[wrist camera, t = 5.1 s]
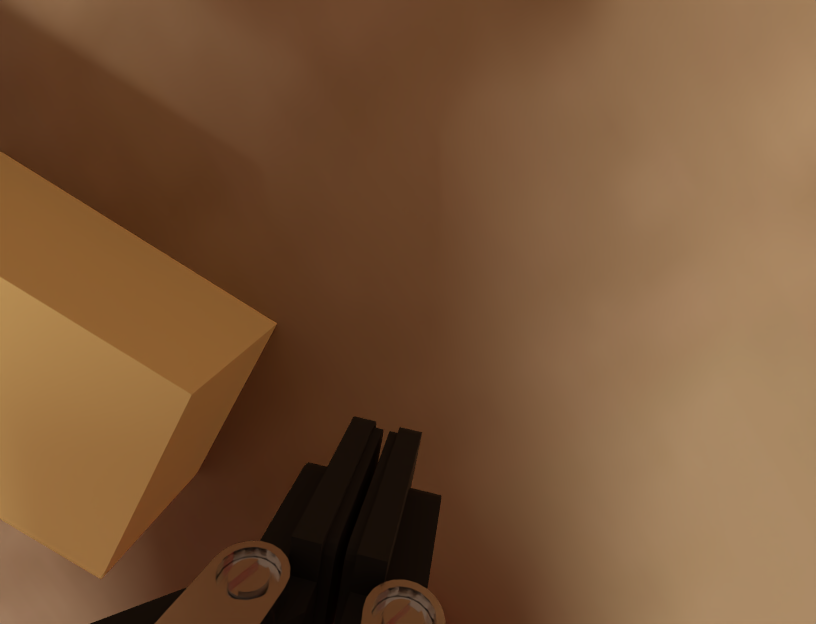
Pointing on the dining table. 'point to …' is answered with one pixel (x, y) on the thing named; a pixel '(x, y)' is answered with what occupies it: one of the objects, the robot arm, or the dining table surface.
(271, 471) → the dining table surface
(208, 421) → the block
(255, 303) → the dining table surface
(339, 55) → the dining table surface
